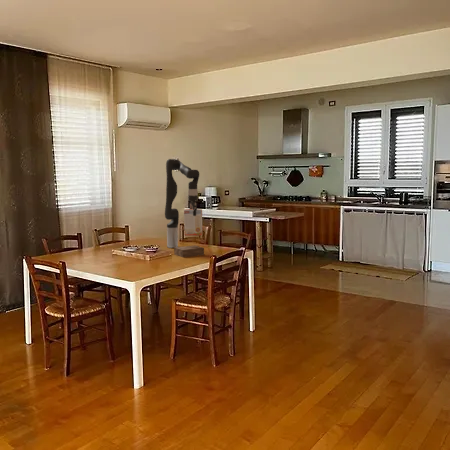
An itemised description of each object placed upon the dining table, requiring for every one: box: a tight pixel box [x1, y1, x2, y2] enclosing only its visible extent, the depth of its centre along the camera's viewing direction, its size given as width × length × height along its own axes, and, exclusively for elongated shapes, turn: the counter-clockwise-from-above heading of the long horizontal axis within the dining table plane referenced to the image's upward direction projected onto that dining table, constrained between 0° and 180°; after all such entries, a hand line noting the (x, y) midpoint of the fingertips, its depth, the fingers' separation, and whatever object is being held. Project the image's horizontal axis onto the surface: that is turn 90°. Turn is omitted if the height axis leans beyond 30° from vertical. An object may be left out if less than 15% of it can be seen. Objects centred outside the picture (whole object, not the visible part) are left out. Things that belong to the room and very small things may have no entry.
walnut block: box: [173, 245, 205, 258], centre depth 376 cm, size 14×19×6 cm
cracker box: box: [183, 208, 203, 236], centre depth 382 cm, size 14×6×21 cm, turn 85°
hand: (193, 215), depth 381 cm, fingers closed on cracker box, 7 cm apart
